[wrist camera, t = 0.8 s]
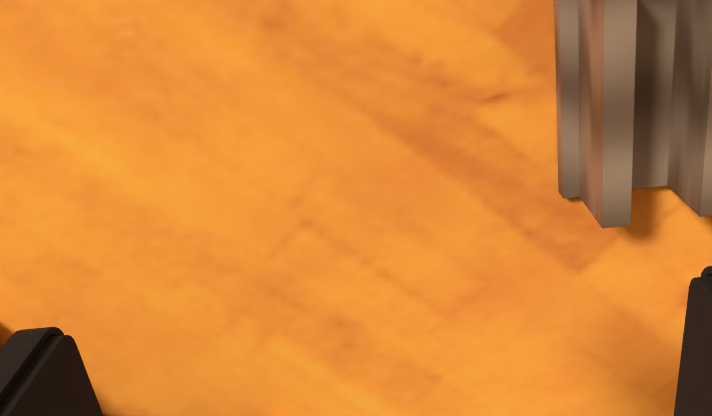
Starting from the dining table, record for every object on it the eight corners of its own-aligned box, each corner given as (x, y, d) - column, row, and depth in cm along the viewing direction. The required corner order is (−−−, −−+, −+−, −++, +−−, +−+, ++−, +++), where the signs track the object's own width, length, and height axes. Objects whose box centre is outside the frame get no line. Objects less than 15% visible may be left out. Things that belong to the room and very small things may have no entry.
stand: (553, -26, 33) (583, -14, 28) (718, -51, 32) (775, -44, 27) (558, 191, 38) (584, 230, 33) (701, 173, 37) (747, 210, 32)
